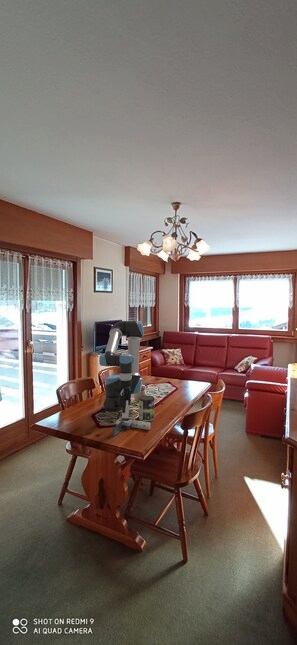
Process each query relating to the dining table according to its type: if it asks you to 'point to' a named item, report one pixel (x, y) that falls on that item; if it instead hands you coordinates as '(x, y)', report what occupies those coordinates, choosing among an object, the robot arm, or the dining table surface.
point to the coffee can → (146, 408)
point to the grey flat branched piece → (129, 425)
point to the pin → (127, 412)
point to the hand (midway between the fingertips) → (125, 416)
